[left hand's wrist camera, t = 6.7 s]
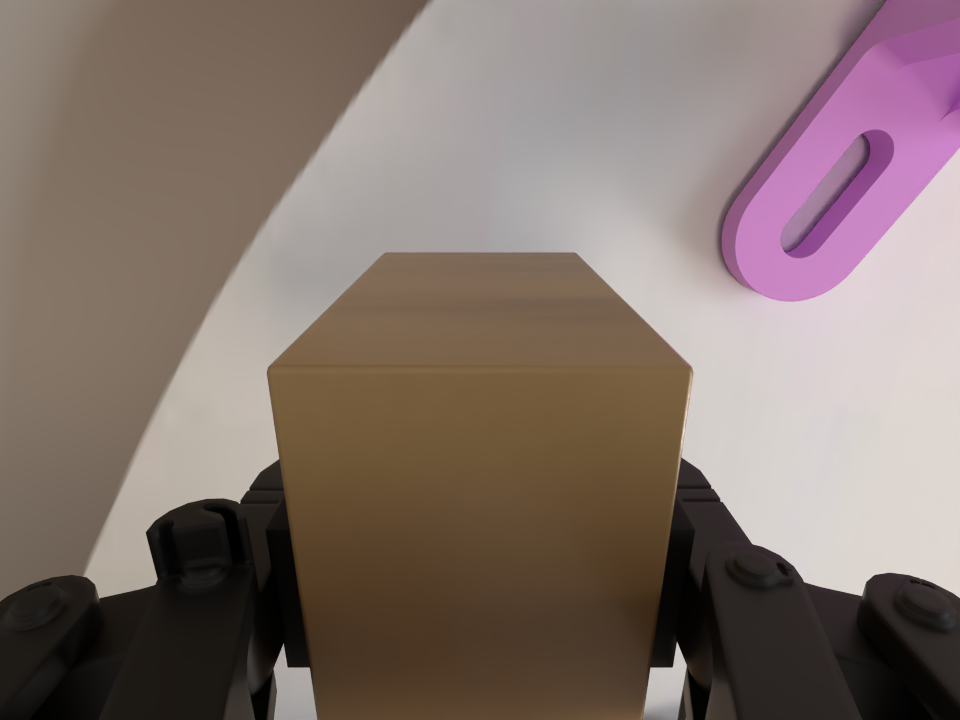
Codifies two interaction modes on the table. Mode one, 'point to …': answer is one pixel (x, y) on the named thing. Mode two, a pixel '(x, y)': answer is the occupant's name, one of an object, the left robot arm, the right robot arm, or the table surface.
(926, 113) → the bracket
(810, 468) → the table surface
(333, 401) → the bar
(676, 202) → the table surface
